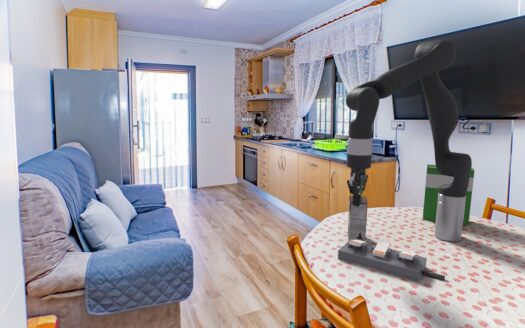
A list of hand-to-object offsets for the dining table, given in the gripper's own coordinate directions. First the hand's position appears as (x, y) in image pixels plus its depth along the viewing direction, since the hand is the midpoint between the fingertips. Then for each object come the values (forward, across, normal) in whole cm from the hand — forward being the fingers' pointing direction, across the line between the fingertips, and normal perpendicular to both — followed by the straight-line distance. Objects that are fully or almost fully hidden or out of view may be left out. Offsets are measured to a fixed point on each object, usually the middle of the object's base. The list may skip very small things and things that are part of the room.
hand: (356, 205), depth 108 cm
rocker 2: (+14, +3, -8) cm, 16 cm away
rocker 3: (+14, +3, -16) cm, 21 cm away
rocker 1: (+14, +3, 0) cm, 14 cm away
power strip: (+19, +3, -11) cm, 22 cm away
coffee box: (+19, +17, +6) cm, 26 cm away
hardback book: (+19, +62, -18) cm, 67 cm away
